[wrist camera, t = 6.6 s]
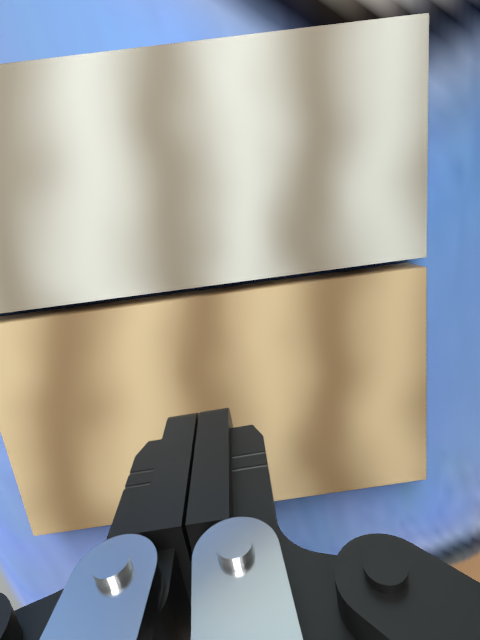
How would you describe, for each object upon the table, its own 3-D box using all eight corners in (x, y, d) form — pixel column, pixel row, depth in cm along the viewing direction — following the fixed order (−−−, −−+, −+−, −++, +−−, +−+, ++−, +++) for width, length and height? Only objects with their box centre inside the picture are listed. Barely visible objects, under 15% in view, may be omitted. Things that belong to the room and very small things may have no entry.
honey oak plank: (407, 262, 21) (426, 267, 19) (409, 458, 24) (426, 479, 23) (-10, 317, 21) (-33, 328, 19) (48, 509, 24) (33, 535, 22)
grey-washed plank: (406, 33, 18) (429, 12, 16) (407, 252, 21) (426, 257, 19) (-80, 91, 18) (-116, 77, 16) (-13, 307, 21) (-36, 318, 19)
